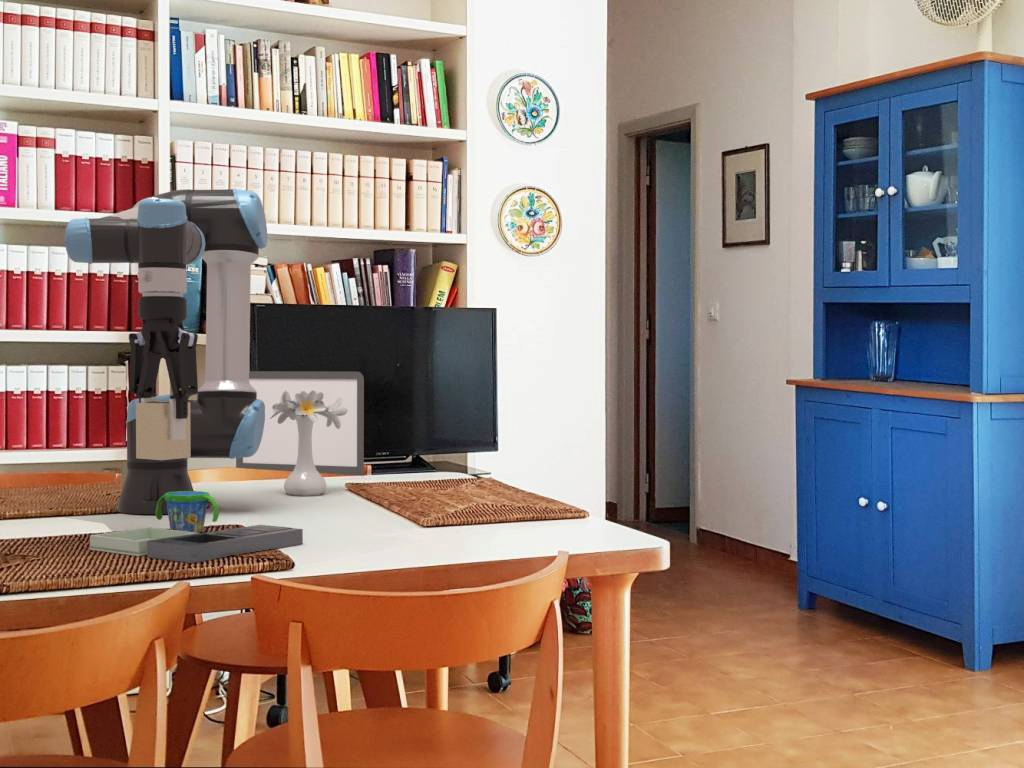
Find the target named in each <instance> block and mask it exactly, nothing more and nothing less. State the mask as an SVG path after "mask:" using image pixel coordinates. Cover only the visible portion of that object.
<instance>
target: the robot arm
mask: <svg viewBox="0 0 1024 768" xmlns="http://www.w3.org/2000/svg"><path fill="white" fill-rule="evenodd" d="M265 214H266V213H265V209H264V206H263V203H262V200H261V198H260V196H259V195H258V193H256V192H255V191H253V190H246V189H237V188H233V189H232V188H231V189H177V190H171V191H170V190H169V191H166V192H164V193H163V192H162V193H158V194H156V195H152V196H149V197H145V198H142V199H141V200H139V201H137V202H136V204H134V205H133V207H132V208H129V209H127V210H123V211H119V212H116V213H113V214H110V215H107V216H103V217H102V216H101V217H99V218H89V217H84V218H73V219H71V220H69V221H68V223H67V224H66V227H65V231H64V247H65V251H66V253H67V256H68V258H69V259H70V260H71V261H72V262H73V263H82V264H84V263H85V264H89V265H92V264H127V263H128V264H137V266H138V273H137V274H138V276H137V277H138V286H137V287H138V293H139V294H142V296H139V298H138V300H137V303H138V307H137V308H138V313H137V314H138V319H140V320H142V326H141V330H140V331H139V332H136V333H133V332H132V333H131V332H130V333H129V334H128V342H129V345H130V356H129V357H130V359H129V360H130V361H129V383H128V384H129V385H128V386H129V387H128V388H129V393H130V394H134V395H136V397H137V398H134V399H131V401H130V402H129V404H128V406H127V415H126V416H127V418H126V421H125V425H126V475H125V478H124V481H123V484H122V488H121V491H120V495H119V497H118V499H117V512H118V513H121V514H126V515H127V514H128V515H129V514H131V515H156V506H157V503H158V500H159V499H160V498H161V497H162V496H163V495H165V493H168V492H176V491H194V487H193V485H192V481H191V478H190V475H189V470H188V460H189V459H191V458H192V459H193V458H194V459H197V458H198V459H231V460H234V459H236V458H243V457H251V456H253V455H254V454H255V453H256V452H257V450H258V448H259V446H260V443H261V439H262V435H263V430H264V423H265V404H264V402H263V401H262V400H260V399H257V391H256V390H255V389H254V388H253V387H252V386H251V385H250V383H249V371H250V346H251V345H250V344H251V343H250V342H251V341H250V340H251V339H250V338H251V336H250V333H251V331H250V330H251V279H252V277H251V274H252V271H251V270H252V267H251V266H252V265H253V264H254V263H255V261H257V260H258V259H259V249H260V250H262V249H264V248H266V247H267V245H268V227H267V226H268V225H267V220H266V215H265ZM200 259H203V261H204V262H205V263H206V314H205V317H206V318H205V320H206V322H205V324H206V325H205V327H206V328H205V329H206V330H205V378H204V379H205V380H204V381H205V382H204V384H203V385H201V386H200V388H198V387H199V386H198V385H199V384H198V369H197V368H198V366H197V344H198V338H199V335H198V333H195V332H188V331H186V330H185V327H184V324H183V321H185V320H186V319H187V315H188V314H187V313H188V312H187V311H188V305H187V303H188V302H187V301H188V300H187V298H186V297H184V295H185V294H187V293H188V286H187V283H188V282H187V265H191V264H194V263H196V262H198V261H199V260H200ZM162 359H164V361H165V366H166V369H167V374H168V378H169V382H170V383H169V384H170V386H171V391H172V392H171V393H172V394H161V395H157V393H155V388H156V384H157V383H156V382H157V379H158V373H159V371H160V370H159V369H160V364H161V360H162ZM195 395H197V398H196V399H189V398H190V397H191V396H195ZM150 401H169V403H170V440H179V439H186V419H187V417H188V402H190V434H191V457H190V458H180V459H170V460H152V459H138V458H136V403H139V402H150ZM161 511H162V515H165V514H167V515H168V507H167V502H166V500H165V499H163V502H162V505H161Z"/></svg>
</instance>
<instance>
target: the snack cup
mask: <svg viewBox="0 0 1024 768" xmlns="http://www.w3.org/2000/svg"><path fill="white" fill-rule="evenodd" d="M163 499H165V500H166V502H167V507H168V514H167V516H168V522H169V530H177V531H186V532H195V533H199V532H202V531H203V532H204V529H205V528H204V527H205V522H206V517H207V516H206V514H207V508H208V503H209V502H210V504H211V505H212V508H213V515H212V522H213V523H215V522H217V521H218V519H219V516H220V515H219V514H220V513H219V511H220V510H219V506H218V503H217V501H216V498H214V497H213V496H211V495H210V492H207V491H199V490H198V491H197V490H193V491H176V492H168V493H165V495H163V496H162V497H161V498H160V499H159V500H158V503H157V506H156V514H155V517H156V519H157V520H158V521H161V520H162V519H163V514H162V511H161V505H162V502H163ZM203 532H202V533H203Z"/></svg>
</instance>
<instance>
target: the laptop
mask: <svg viewBox="0 0 1024 768" xmlns="http://www.w3.org/2000/svg"><path fill="white" fill-rule="evenodd" d="M249 383H250V385H251V386H252V387H253V388H254V389H255V390H256V391H257V399H260V400H262V401H263V402H264V404H265V423H264V430H263V435H262V439H261V443H260V446H259V448H258V450H257V452H256V453H255V454H254V455H253V456H251V457H243V458H235V468H236V469H250V470H251V469H253V470H264V471H265V470H268V471H280V472H282V471H283V472H293V470H294V468H295V466H296V463H297V458H298V439H299V438H298V426H297V421H296V419H295V420H291V419H290V418H289V417H288V418H287V419H286V420H285V421H284V422H283V423H281V424H278V418H279V416H280V415H281V414H282V413H283V412H281V413H279V414H277V415H276V416H274V417H273V418H271V417H272V415H273V414H274V413H275V412H274V413H273V408H272V406H273V405H274V404H276V403H280V401H281V396H282V394H283V392H285V390H286V391H287V392H288V393H289V395H290V398H291V401H293V400H294V399H295V394H297V393H298V394H301V392H302V391H305V392H307V393H308V394H309V393H310V392H311V391H313V390H314V391H316V394H317V393H319V392H322V393H323V399H322V401H323V402H324V405H325V406H326V407H327V408H328V406H329V405H332V406H333V404H334V403H335V402H336V401H337V399H338V398H340V397H341V398H342V401H341V404H340V406H339V407H337V408H340V407H345V408H347V409H348V411H347V413H346V414H345V415H343V416H337V417H338V418H339V419H340V423H341V424H340V428H339V429H337V428H336V427H335V425H334V423H333V422H332V423H331V425H330V426H329V427H327V425H326V424H327V418H326V417H325V416H322V415H319V414H317V413H316V415H317V421H316V422H313V428H312V455H313V462H314V465H315V467H316V469H317V471H318V472H319V474H332V475H348V476H362V477H363V476H364V475H365V474H364V472H365V471H364V469H365V468H364V467H365V465H364V463H365V461H364V460H365V457H364V456H365V454H364V453H365V452H364V451H365V447H364V445H365V441H364V440H365V437H364V436H365V435H364V433H365V430H364V429H365V425H364V423H365V418H364V417H365V403H364V402H365V378H364V374H362V372H360V371H326V370H325V371H320V370H319V371H318V370H317V371H314V370H312V371H310V370H309V371H292V370H291V371H286V370H285V371H284V370H283V371H279V370H278V371H276V370H275V371H274V370H272V371H271V370H270V371H268V370H266V371H264V370H262V371H260V370H259V371H258V370H255V371H254V370H251V371H250V370H249ZM327 413H328V412H327ZM304 415H306V414H304ZM270 418H271V419H270ZM269 419H270V420H269ZM331 421H332V420H331Z"/></svg>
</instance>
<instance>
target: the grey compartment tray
mask: <svg viewBox="0 0 1024 768" xmlns="http://www.w3.org/2000/svg"><path fill="white" fill-rule="evenodd" d="M303 536H304V535H303V529H302V528H296V527H295V528H294V527H287V526H276V525H266V524H257V525H250V526H249V525H248V526H241V527H234V528H227V529H222V530H221V529H220V530H214V531H208V532H202V533H200V534H193V535H186V536H179V537H173V538H166V539H159V540H152V541H147V555H146V557H147V558H151V559H157V560H164V561H165V560H166V561H172V562H173V561H174V562H180V563H186V564H187V563H188V564H194V563H200V562H207V561H211V560H216V558H218V559H222V558H221V557H224V558H227V557H226V556H230V555H236V556H238V555H237V554H242V553H247V554H249V553H248V552H253V553H256V552H255V551H259V552H263V551H262V550H265V551H269V549H271V550H275V549H280V548H281V549H282V548H287V547H293V546H294V547H295V546H298V545H303ZM242 555H243V554H242ZM230 557H231V556H230Z"/></svg>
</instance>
